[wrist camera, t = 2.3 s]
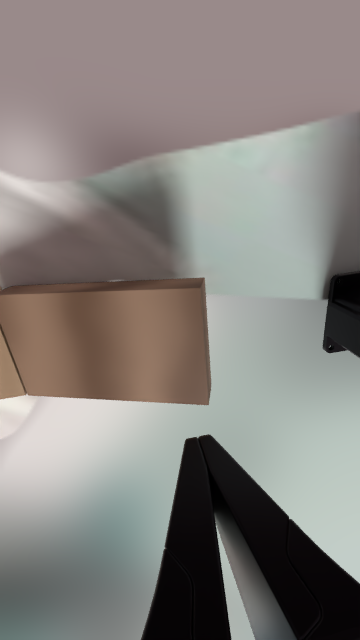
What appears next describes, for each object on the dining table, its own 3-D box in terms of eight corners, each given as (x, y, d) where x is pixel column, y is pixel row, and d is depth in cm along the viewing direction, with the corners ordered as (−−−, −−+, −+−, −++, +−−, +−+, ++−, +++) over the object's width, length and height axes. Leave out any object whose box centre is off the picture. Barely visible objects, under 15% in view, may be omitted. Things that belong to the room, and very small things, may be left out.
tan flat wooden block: (204, 277, 15) (200, 288, 13) (211, 385, 18) (208, 405, 16) (12, 285, 17) (-11, 295, 16) (44, 379, 20) (28, 395, 18)
